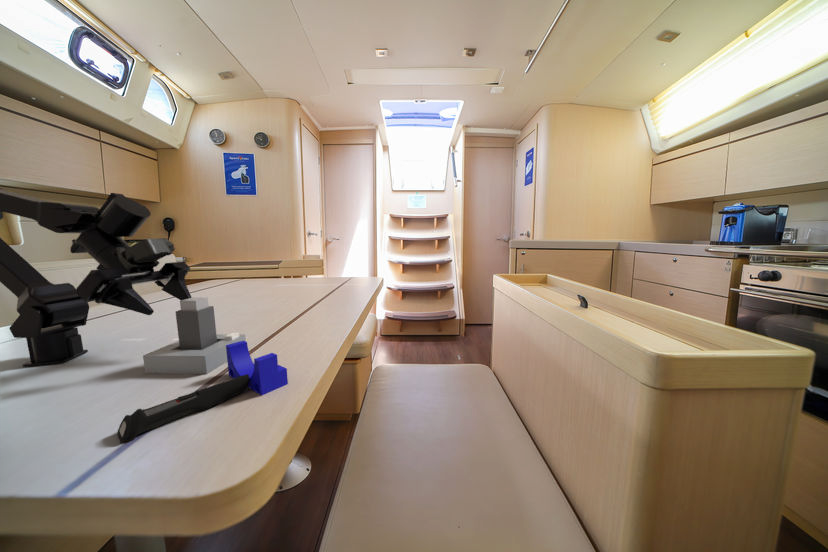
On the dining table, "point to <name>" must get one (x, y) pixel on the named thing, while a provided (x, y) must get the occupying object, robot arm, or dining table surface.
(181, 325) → the plug
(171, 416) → the electric trimmer
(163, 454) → the dining table surface
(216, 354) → the socket
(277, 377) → the cable clip
